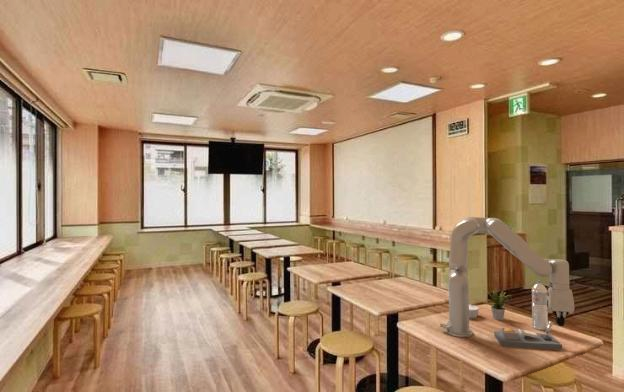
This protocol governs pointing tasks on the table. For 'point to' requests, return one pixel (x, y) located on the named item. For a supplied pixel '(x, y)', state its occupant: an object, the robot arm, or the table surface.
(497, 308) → the house plant
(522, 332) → the rocker switch
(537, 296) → the water bottle
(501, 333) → the control panel
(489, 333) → the table surface
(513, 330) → the push button
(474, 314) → the ramekin
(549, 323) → the toggle lever
